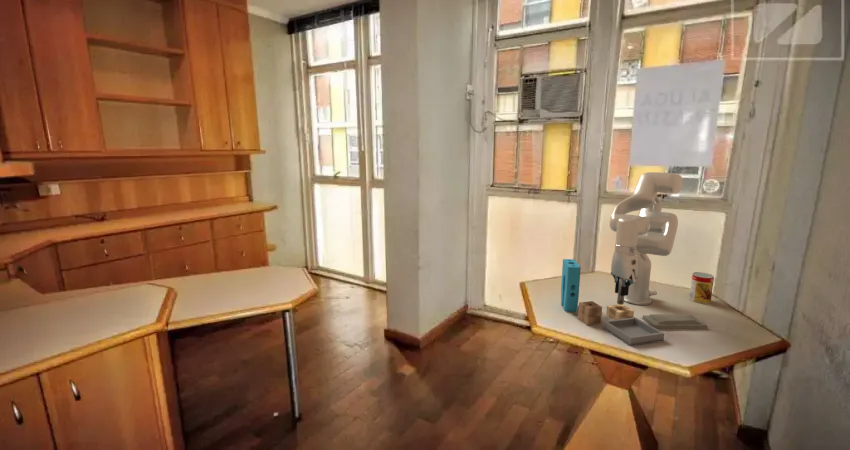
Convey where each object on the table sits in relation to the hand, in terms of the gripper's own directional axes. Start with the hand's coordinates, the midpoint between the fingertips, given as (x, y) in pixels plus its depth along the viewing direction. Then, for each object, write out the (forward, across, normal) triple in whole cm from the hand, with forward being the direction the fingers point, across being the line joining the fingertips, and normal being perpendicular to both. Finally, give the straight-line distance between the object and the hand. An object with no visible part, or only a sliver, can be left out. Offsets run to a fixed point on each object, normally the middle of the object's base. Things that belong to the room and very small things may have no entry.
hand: (621, 293), depth 158 cm
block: (+10, +14, +14) cm, 22 cm away
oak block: (+10, 0, 0) cm, 10 cm away
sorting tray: (+10, -14, +6) cm, 18 cm away
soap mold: (+11, -10, -17) cm, 22 cm away
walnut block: (+10, 0, +14) cm, 17 cm away
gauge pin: (+4, 0, 0) cm, 4 cm away
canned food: (+10, +6, -47) cm, 49 cm away
